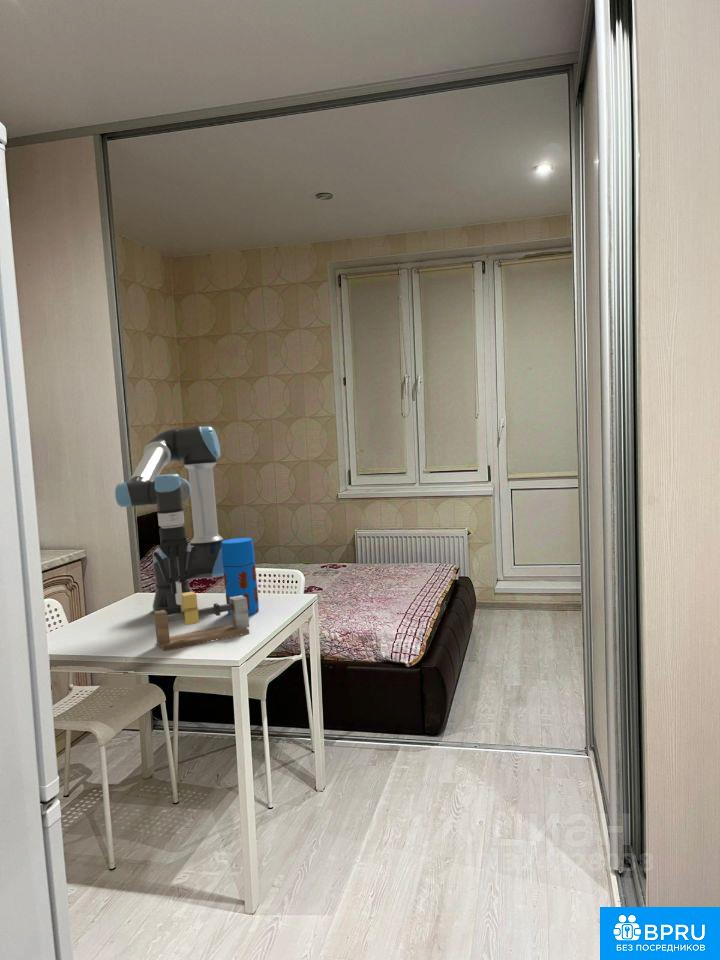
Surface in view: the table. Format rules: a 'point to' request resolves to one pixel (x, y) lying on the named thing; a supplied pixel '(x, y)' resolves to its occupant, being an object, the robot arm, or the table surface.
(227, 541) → the thermos
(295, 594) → the table surface
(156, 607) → the robot arm
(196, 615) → the sleeve
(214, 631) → the rod stand
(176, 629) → the table surface
